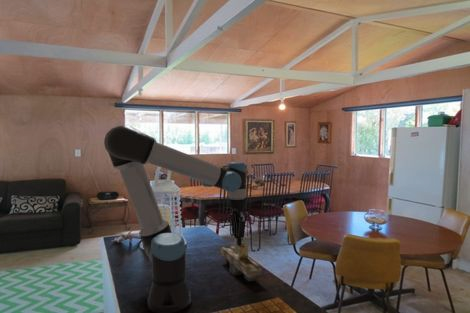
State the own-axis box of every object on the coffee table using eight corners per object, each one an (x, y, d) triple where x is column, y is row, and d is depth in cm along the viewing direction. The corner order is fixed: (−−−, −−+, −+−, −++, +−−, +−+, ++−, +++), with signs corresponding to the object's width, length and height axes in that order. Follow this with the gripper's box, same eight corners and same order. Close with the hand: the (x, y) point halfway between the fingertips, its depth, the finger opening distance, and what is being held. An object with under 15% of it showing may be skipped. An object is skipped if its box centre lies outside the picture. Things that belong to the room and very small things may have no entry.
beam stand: (262, 283, 129) (262, 265, 128) (246, 287, 126) (246, 269, 125) (233, 259, 154) (233, 244, 154) (219, 262, 151) (219, 247, 151)
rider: (249, 261, 135) (249, 244, 134) (241, 263, 133) (240, 246, 133) (245, 258, 139) (245, 242, 138) (236, 260, 137) (236, 243, 136)
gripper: (252, 199, 135) (252, 255, 136) (239, 194, 147) (239, 245, 148) (235, 201, 132) (236, 258, 133) (223, 196, 144) (224, 248, 145)
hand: (238, 251), depth 141 cm, fingers closed
